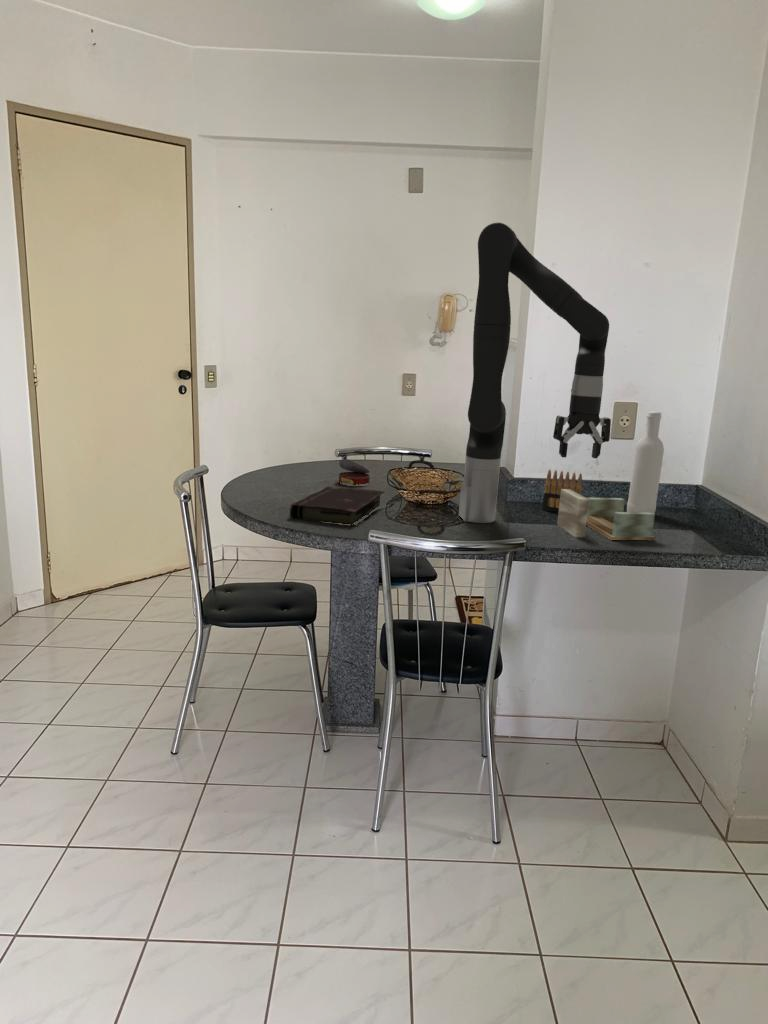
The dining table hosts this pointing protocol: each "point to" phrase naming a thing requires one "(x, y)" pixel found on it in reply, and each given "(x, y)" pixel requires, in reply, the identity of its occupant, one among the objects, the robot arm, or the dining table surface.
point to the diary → (337, 505)
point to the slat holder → (619, 520)
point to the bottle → (646, 468)
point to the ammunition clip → (558, 489)
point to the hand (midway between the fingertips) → (579, 457)
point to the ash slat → (573, 512)
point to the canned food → (353, 473)
